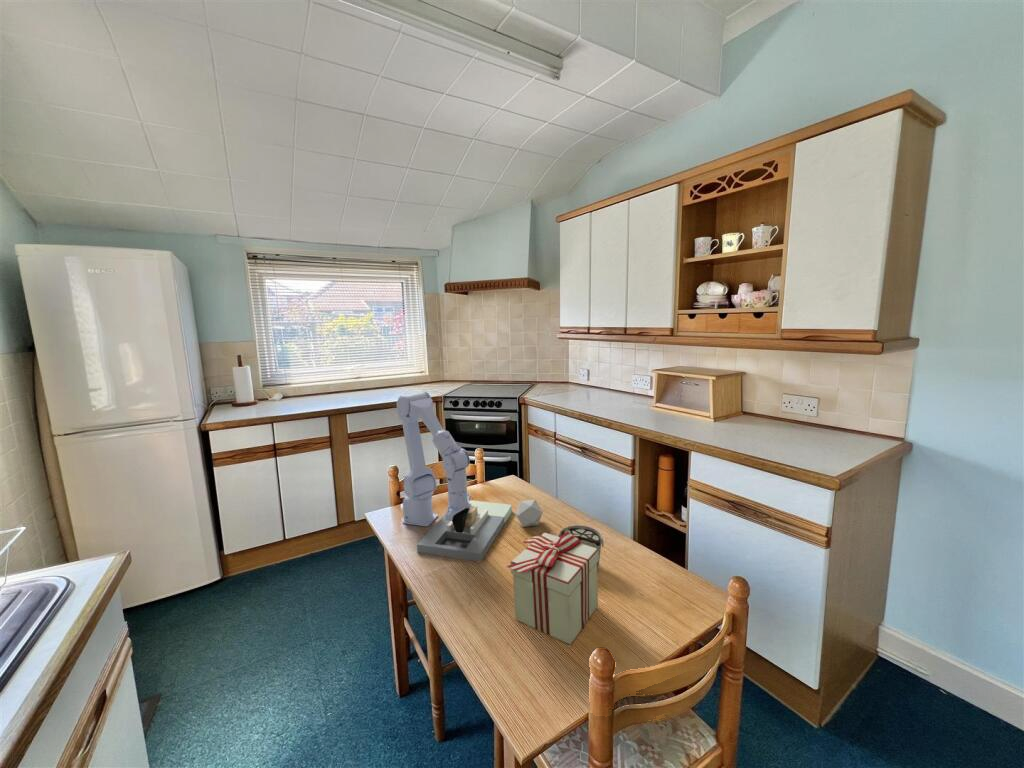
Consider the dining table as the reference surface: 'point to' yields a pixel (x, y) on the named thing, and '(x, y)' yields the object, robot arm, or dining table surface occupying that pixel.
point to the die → (529, 513)
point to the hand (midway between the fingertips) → (459, 531)
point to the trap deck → (467, 533)
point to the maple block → (471, 517)
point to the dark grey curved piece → (585, 536)
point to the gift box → (555, 585)
